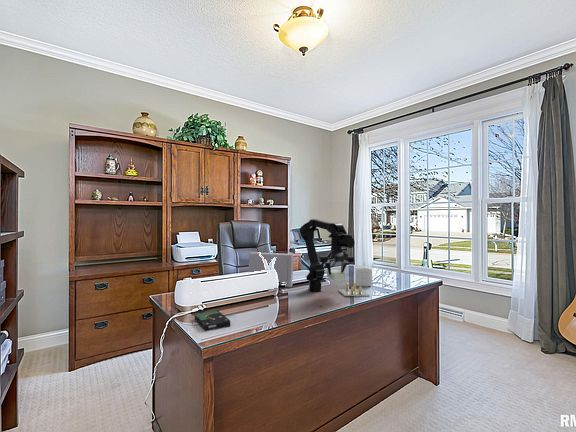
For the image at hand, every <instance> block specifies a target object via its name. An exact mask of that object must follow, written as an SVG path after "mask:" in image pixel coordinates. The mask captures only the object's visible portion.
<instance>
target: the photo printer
mask: <svg viewBox="0 0 576 432" xmlns="http://www.w3.org/2000/svg"><path fill="white" fill-rule="evenodd" d="M355 283H356V287H359V286H361V287H368V286H373V270H372V267H369V266H358V267H356V270H355Z"/></svg>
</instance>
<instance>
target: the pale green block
mask: <svg viewBox="0 0 576 432" xmlns="http://www.w3.org/2000/svg"><path fill="white" fill-rule="evenodd" d="M326 277H327V278H329V279H330V280H332V281H333V282H338V281H340V282H343V281H346V274H345V273H344V272H343V273H342V272H341V270H338V269H331V275H329V272H328V269H326Z"/></svg>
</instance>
